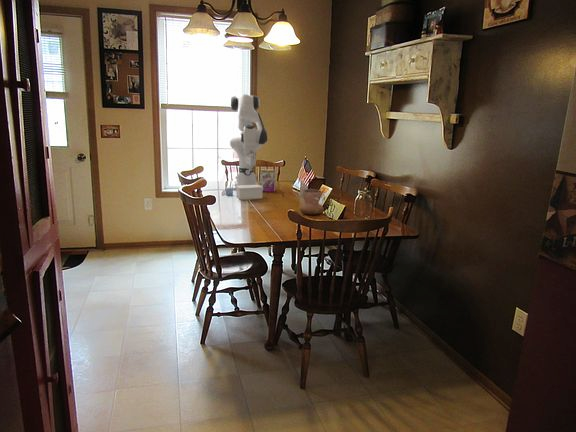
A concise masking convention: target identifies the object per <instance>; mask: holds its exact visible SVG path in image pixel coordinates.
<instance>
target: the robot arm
mask: <svg viewBox="0 0 576 432" xmlns="http://www.w3.org/2000/svg"><path fill="white" fill-rule="evenodd" d="M229 107H230V108H231V110H232V111H235V112H236V111H237V128H238V129H239V131H241V132H240V135H235V136H232V137H231V139H229V145H230V147H231V148H232V150H234V151H235V153H236V154H237V156H238V165H239V167H238V174H236V176H235V181H234V186H238V185H259V183H258V182H257V178H256V177H257V175H256V173H255V172H254V171H255V168H254V167H256V166H257V156H256V153H257V151H258V150H260V149H261V148H262V146H263V145H264V144H265V143H267V142H268V133H267V130H266V129H265V126H264V123H263V121H262V117H261V114H260V113H259V112H258V111H256V110H258V109H259V107H260V99H259V97H258V96H257V95H250V94H246V93H245V94H241V95H237V96H236V95H235V96H232V97H231V98H230V100H229ZM253 123H254V124H255V125H256V126H254V124H253Z"/></svg>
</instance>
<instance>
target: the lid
mask: <svg viewBox="0 0 576 432" xmlns="http://www.w3.org/2000/svg"><path fill="white" fill-rule="evenodd" d="M235 187H237V188H238V189H239V191H254V190H263V187H262V186H260V184H257V185H235Z"/></svg>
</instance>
